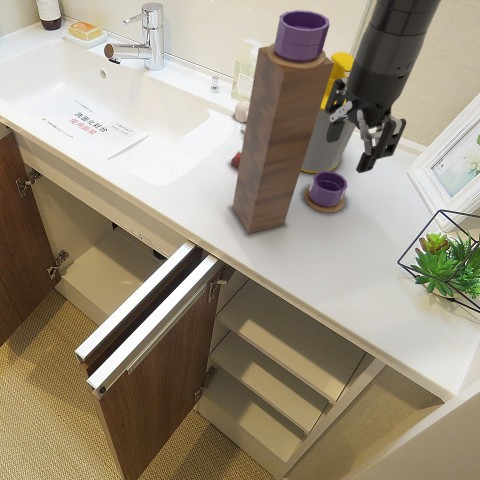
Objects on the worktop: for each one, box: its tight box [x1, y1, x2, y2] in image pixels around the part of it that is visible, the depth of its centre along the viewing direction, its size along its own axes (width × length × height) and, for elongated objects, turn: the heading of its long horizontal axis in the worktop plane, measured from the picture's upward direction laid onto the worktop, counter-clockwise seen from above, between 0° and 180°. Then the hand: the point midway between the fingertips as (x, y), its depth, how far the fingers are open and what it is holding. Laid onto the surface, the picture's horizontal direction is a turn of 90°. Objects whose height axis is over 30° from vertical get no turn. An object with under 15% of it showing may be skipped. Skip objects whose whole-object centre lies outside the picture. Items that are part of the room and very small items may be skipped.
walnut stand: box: [232, 45, 334, 235], centre depth 65 cm, size 7×7×30 cm
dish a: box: [273, 9, 331, 62], centre depth 52 cm, size 6×6×4 cm
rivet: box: [240, 124, 246, 133], centre depth 90 cm, size 10×2×2 cm, turn 24°
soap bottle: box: [301, 51, 357, 174], centre depth 79 cm, size 13×13×21 cm
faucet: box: [234, 99, 250, 123], centre depth 91 cm, size 4×18×10 cm, turn 24°
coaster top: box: [267, 42, 327, 69], centre depth 53 cm, size 7×7×1 cm
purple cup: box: [309, 171, 348, 207], centre depth 77 cm, size 6×6×4 cm
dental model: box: [230, 150, 242, 168], centre depth 84 cm, size 6×4×8 cm
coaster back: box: [303, 186, 345, 214], centre depth 79 cm, size 7×7×1 cm
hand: (346, 155), depth 69 cm, fingers open, 8 cm apart
